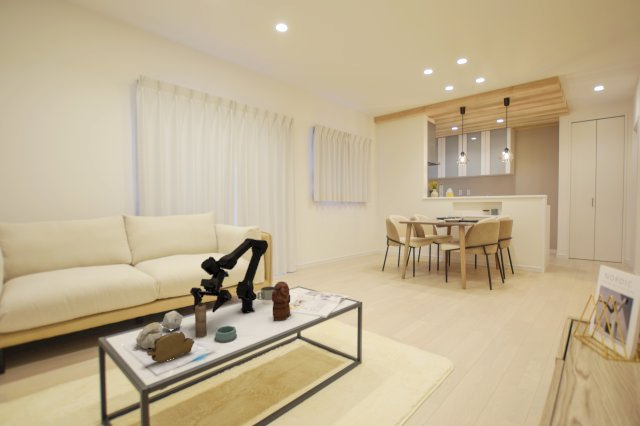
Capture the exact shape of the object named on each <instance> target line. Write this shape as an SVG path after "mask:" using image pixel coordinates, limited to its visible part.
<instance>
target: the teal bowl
mask: <svg viewBox="0 0 640 426" xmlns="http://www.w3.org/2000/svg"><path fill="white" fill-rule="evenodd" d="M214 331H215V332H214V333H215V335H214V341H215V342H216V343H219V344H221V343H223V344H227V343H231V342H233V341H235V340H237V338H238V334H237V329H236V326H232V325H224V326H220V327H218V328H216V329H214Z"/></svg>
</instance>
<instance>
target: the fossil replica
mask: <svg viewBox="0 0 640 426" xmlns="http://www.w3.org/2000/svg"><path fill="white" fill-rule="evenodd" d="M161 325H162V324H160V323H159V322H158V321H156V322H155V321H154V322H152V323H151V322H150V323H149V324H146V325H145V326H144V327H143V328H142V330H141V331H139V333H138V335H137V337H136V344H137V345H139V346H140V347H141V348H143V349H145V350H149V348H150V349H154V347H155V345H154V342H155V340H156V339H158V338H160V337H161V336H163V326H161Z"/></svg>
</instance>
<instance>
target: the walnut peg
mask: <svg viewBox="0 0 640 426" xmlns="http://www.w3.org/2000/svg"><path fill="white" fill-rule="evenodd" d="M194 315H195V317H194V320H195V325H194V326H195V338H197V339H200V338H205V337H207V305H206V304H204V303H203V302H202V301H201V302H200V303H198V305H197V306H195V311H194Z"/></svg>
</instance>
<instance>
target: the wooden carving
mask: <svg viewBox="0 0 640 426" xmlns="http://www.w3.org/2000/svg"><path fill="white" fill-rule="evenodd" d="M194 344H195V340H194V339H193V338H190V337H186V336H185V334H184V332H183V331H180V332H176V331H174V332H173V331H172V332H168V333H167V334H164V335H163V334H162V336H161V337H160V338H158V339H156V340H155V342H154V345H155V347H154V348H150V349H147V350H146V355H147V356H149V357H151V360H152V361H153V362H163V363H165V362H164V361H166V362H168V361H167V360H170V359H173V358H175V359H177V358H179V357H180V356H181V355H183V354H189V353H190V352H191V351H192V348H193V346H194ZM178 356H179V357H178ZM176 357H177V358H176ZM173 360H174V359H173ZM170 361H171V360H170Z"/></svg>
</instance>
